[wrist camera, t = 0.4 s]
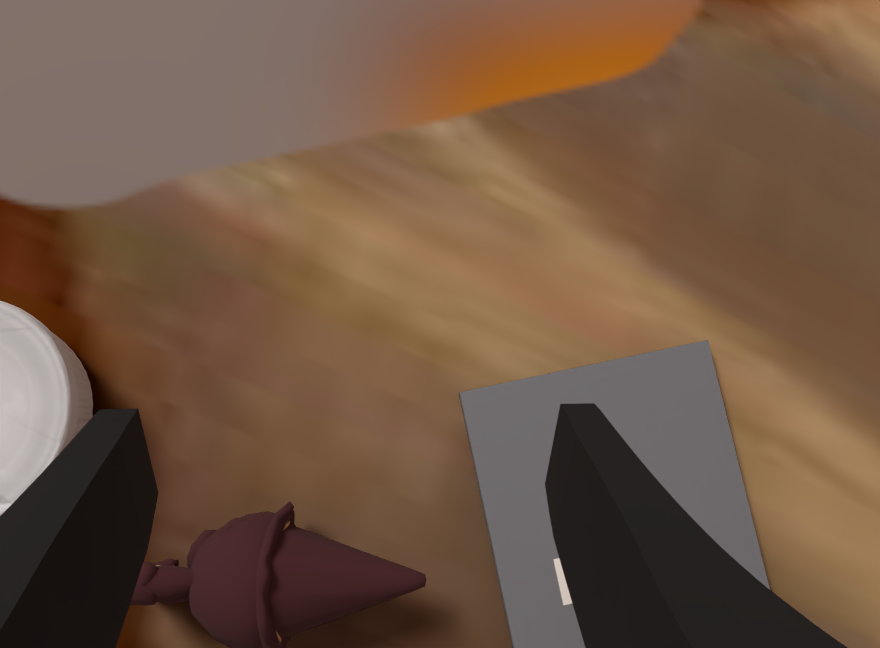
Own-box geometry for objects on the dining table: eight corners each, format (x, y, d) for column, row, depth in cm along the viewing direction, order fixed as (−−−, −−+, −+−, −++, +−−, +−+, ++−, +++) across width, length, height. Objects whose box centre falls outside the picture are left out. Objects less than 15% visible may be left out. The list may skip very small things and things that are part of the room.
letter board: (781, 667, 41) (791, 673, 40) (529, 728, 40) (533, 736, 39) (700, 341, 43) (707, 339, 42) (458, 392, 42) (459, 392, 41)
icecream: (422, 492, 35) (102, 493, 35) (420, 668, 32) (74, 667, 33) (430, 511, 41) (160, 512, 42) (429, 659, 39) (140, 658, 39)
